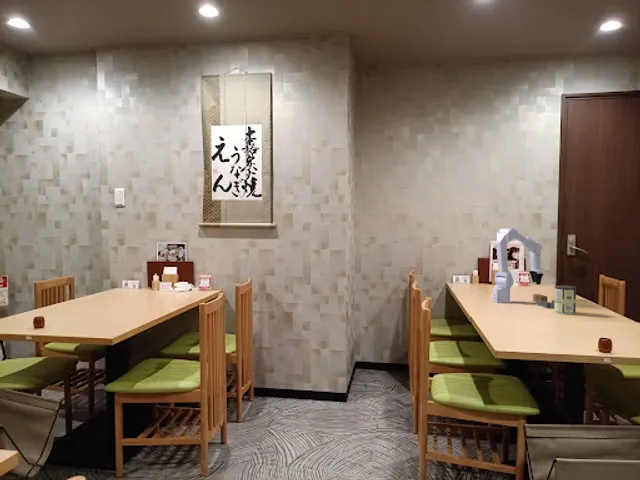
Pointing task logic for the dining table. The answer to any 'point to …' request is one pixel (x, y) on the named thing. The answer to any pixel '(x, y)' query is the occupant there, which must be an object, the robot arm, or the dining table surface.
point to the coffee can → (565, 299)
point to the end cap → (546, 304)
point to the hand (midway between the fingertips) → (536, 283)
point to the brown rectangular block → (539, 298)
